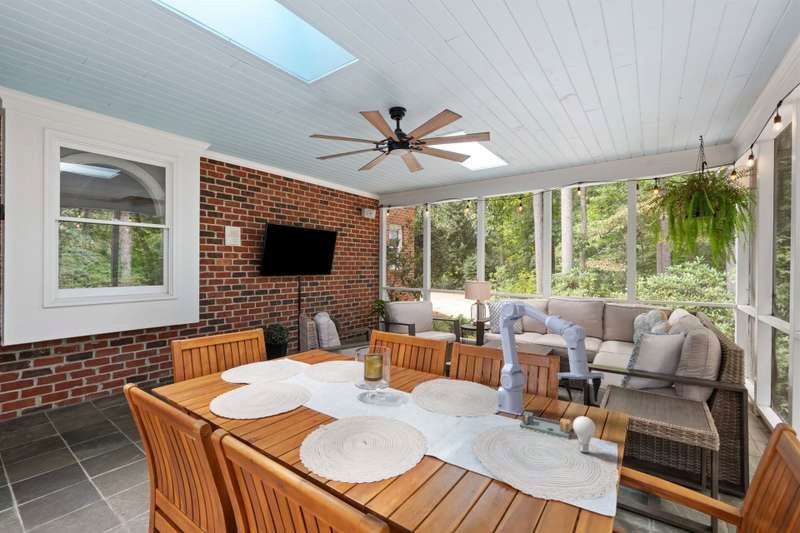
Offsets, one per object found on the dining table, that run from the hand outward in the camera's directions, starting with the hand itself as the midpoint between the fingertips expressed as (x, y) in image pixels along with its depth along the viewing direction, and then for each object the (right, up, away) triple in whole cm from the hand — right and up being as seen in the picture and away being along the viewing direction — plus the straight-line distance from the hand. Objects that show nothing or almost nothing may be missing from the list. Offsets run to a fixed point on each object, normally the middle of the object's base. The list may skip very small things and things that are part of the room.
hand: (583, 400), depth 125 cm
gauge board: (-11, -12, +6) cm, 17 cm away
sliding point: (-6, -11, +1) cm, 12 cm away
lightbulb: (-6, -12, -11) cm, 17 cm away
